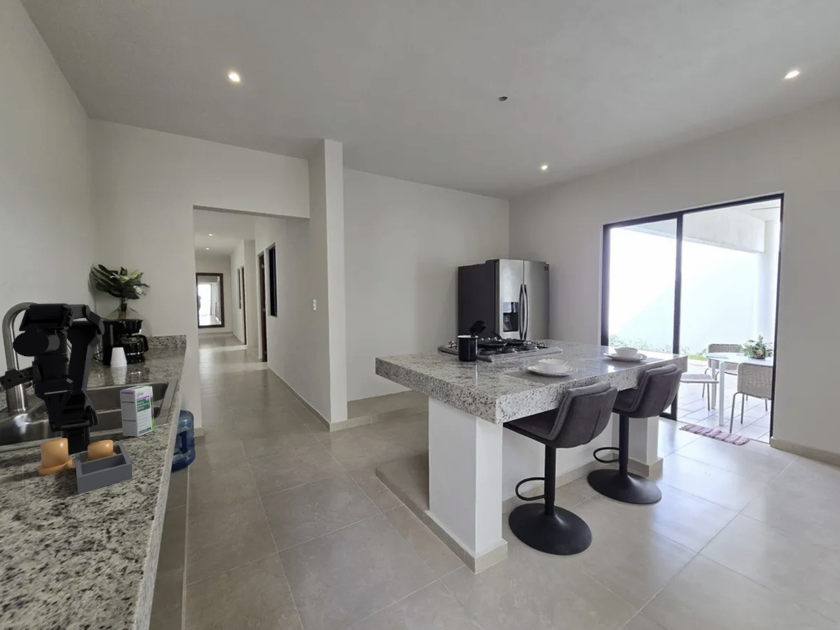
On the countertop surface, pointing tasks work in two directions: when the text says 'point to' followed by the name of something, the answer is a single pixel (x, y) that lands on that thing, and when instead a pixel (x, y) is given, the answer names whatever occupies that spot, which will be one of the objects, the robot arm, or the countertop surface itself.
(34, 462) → the countertop surface
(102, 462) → the gray divided tray
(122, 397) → the syrup box
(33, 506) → the countertop surface
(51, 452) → the tan pear-shaped knob
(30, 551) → the countertop surface
